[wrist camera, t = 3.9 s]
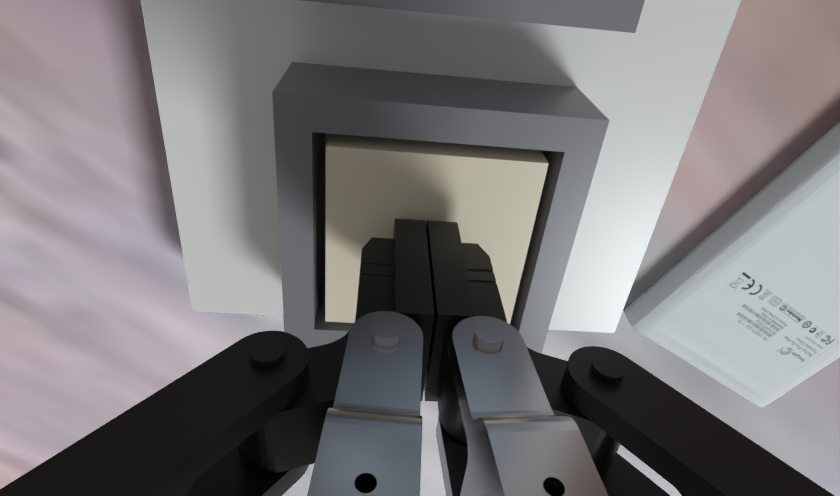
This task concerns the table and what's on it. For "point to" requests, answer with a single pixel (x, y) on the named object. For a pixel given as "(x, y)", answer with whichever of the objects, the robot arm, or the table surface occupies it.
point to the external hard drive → (759, 285)
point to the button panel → (425, 132)
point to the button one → (427, 204)
